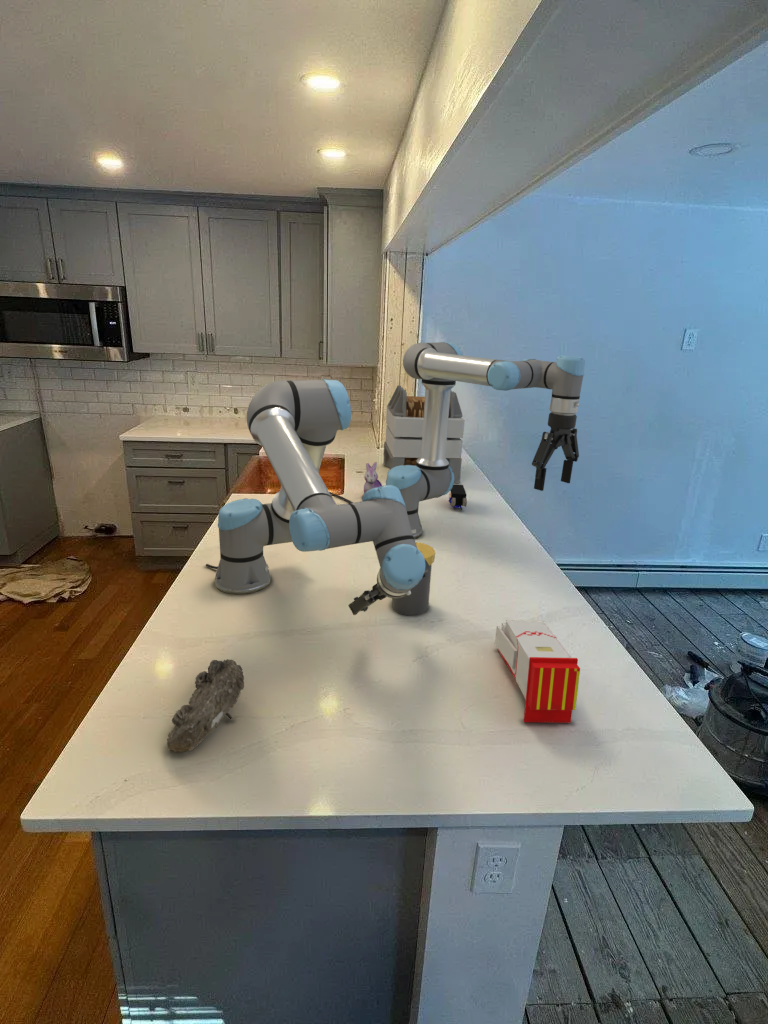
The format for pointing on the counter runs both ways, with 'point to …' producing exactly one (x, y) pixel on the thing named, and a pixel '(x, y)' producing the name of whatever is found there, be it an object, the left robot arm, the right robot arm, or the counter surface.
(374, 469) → the figurine
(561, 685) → the toy
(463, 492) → the figurine character
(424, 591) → the jar
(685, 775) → the counter surface
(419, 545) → the lid
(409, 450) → the grey slatted crate
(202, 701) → the fossil
